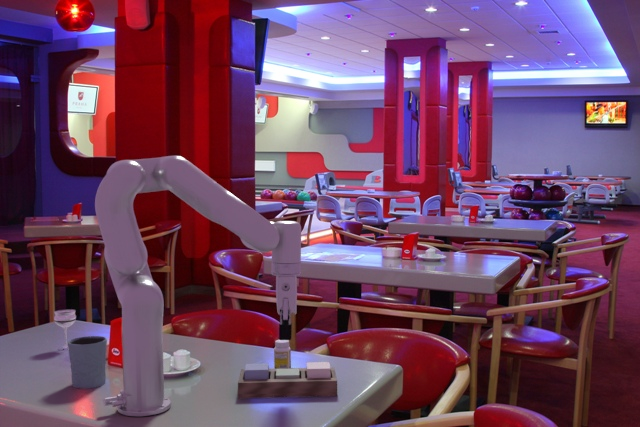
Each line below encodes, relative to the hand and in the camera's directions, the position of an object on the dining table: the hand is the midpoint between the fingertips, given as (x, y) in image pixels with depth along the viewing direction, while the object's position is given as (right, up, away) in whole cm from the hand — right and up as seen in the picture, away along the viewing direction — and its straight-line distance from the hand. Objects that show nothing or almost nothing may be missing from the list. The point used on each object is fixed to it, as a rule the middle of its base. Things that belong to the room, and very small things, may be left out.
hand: (285, 339), depth 186 cm
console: (+1, -13, +1) cm, 13 cm away
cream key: (+9, -11, +1) cm, 14 cm away
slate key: (-7, -11, +1) cm, 13 cm away
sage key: (+1, -12, +1) cm, 12 cm away
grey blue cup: (-54, -14, +8) cm, 56 cm away
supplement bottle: (-2, -12, +20) cm, 23 cm away
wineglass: (-73, -11, +47) cm, 88 cm away
